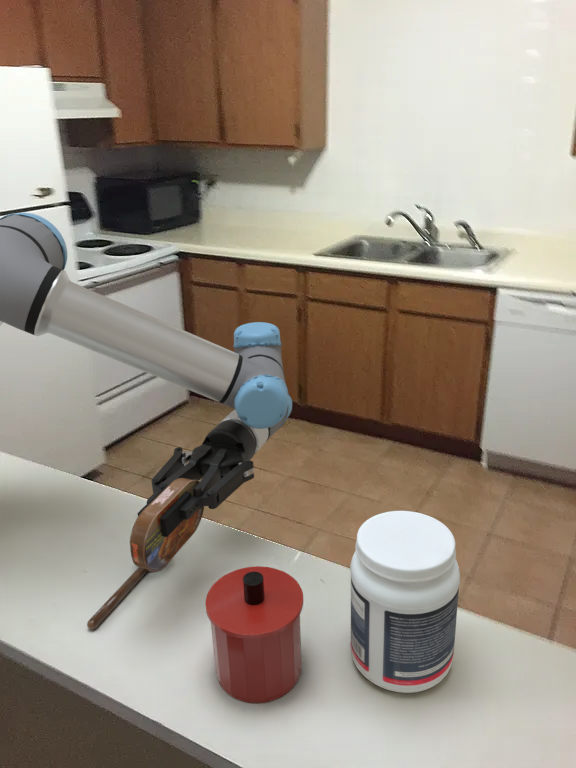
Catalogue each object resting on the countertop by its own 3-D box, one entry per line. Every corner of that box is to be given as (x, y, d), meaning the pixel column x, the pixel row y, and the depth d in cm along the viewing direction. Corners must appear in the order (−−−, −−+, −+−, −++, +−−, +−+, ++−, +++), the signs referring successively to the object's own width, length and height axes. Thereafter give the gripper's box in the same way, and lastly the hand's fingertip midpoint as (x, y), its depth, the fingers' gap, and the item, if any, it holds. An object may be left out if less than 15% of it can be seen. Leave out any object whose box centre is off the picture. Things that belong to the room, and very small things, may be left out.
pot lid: (187, 626, 77) (184, 598, 75) (233, 565, 87) (231, 538, 85) (280, 654, 73) (278, 625, 71) (317, 586, 82) (317, 559, 81)
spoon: (103, 636, 89) (101, 628, 89) (76, 627, 91) (75, 619, 90) (172, 557, 104) (171, 550, 103) (148, 551, 106) (147, 544, 105)
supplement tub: (467, 643, 86) (479, 525, 79) (429, 717, 76) (439, 590, 69) (376, 607, 93) (379, 495, 85) (331, 670, 83) (330, 550, 75)
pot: (201, 687, 81) (193, 621, 77) (240, 627, 90) (235, 564, 86) (281, 714, 77) (277, 646, 73) (313, 648, 86) (312, 584, 82)
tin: (148, 585, 84) (144, 531, 80) (127, 578, 85) (123, 524, 81) (207, 519, 96) (206, 470, 93) (188, 513, 98) (186, 464, 94)
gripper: (282, 469, 103) (208, 562, 84) (194, 453, 109) (105, 536, 90) (280, 426, 100) (203, 512, 81) (189, 412, 106) (97, 488, 86)
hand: (152, 524), depth 85 cm, fingers closed on tin, 3 cm apart
